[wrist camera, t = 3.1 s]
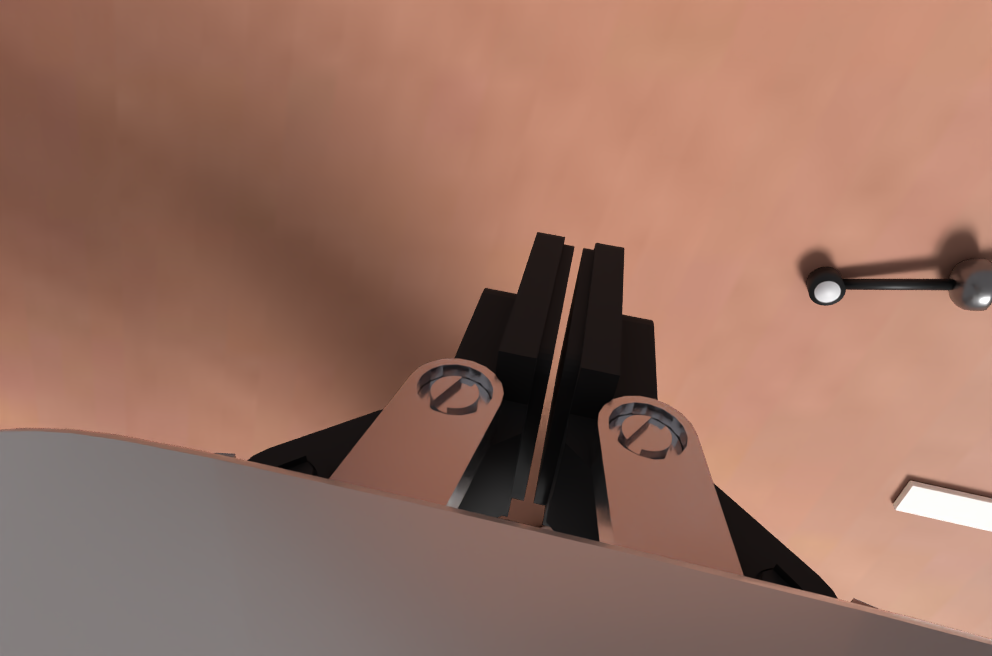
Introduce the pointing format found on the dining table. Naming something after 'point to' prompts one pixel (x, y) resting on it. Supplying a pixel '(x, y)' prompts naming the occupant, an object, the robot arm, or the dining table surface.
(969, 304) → the robot toy
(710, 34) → the dining table surface
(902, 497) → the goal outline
